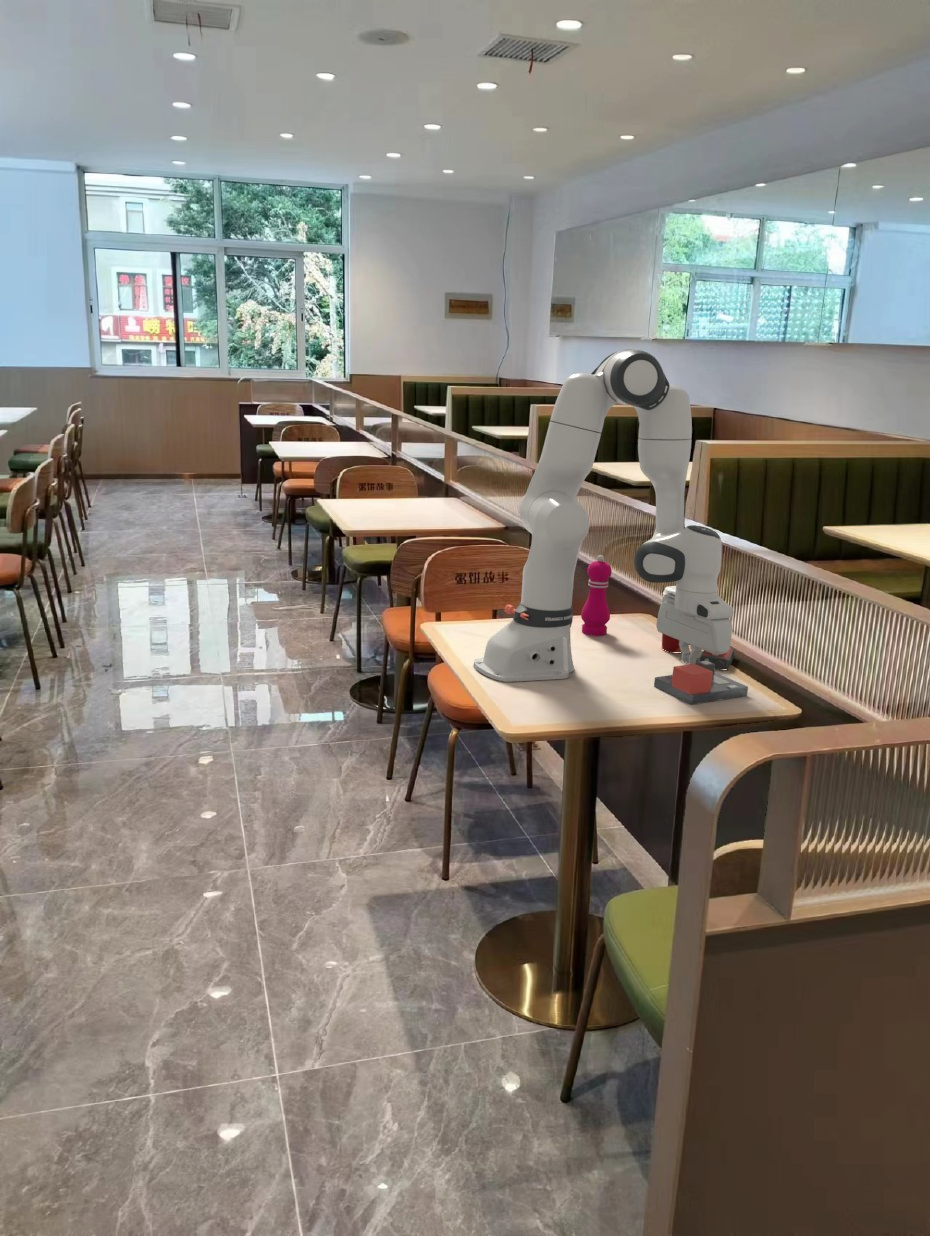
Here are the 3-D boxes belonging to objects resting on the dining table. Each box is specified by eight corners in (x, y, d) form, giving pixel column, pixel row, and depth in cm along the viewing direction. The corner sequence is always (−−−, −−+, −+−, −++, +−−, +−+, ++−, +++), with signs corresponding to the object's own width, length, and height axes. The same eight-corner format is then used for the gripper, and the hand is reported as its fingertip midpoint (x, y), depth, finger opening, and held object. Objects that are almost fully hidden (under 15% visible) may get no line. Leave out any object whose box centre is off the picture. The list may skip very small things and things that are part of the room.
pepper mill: (613, 632, 244) (620, 555, 239) (601, 638, 238) (608, 559, 233) (587, 627, 248) (593, 550, 243) (575, 632, 242) (581, 554, 237)
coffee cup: (694, 655, 228) (702, 594, 224) (660, 653, 228) (666, 592, 224) (687, 645, 236) (694, 586, 232) (654, 643, 236) (660, 584, 232)
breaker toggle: (704, 676, 205) (705, 664, 204) (695, 672, 207) (696, 660, 207) (714, 675, 206) (715, 663, 206) (705, 671, 209) (706, 659, 208)
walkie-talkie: (697, 652, 232) (683, 675, 214) (699, 634, 231) (685, 656, 213) (735, 657, 229) (724, 681, 211) (737, 640, 228) (726, 662, 210)
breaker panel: (692, 704, 194) (693, 691, 193) (654, 686, 204) (655, 673, 203) (747, 695, 201) (748, 683, 200) (707, 678, 211) (709, 666, 211)
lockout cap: (689, 694, 194) (691, 674, 193) (671, 685, 199) (673, 666, 198) (710, 691, 197) (713, 671, 196) (692, 682, 201) (694, 663, 200)
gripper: (653, 591, 215) (647, 650, 219) (716, 614, 198) (709, 678, 201) (674, 589, 218) (668, 648, 222) (739, 611, 201) (731, 674, 204)
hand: (688, 662), depth 211 cm, fingers closed
